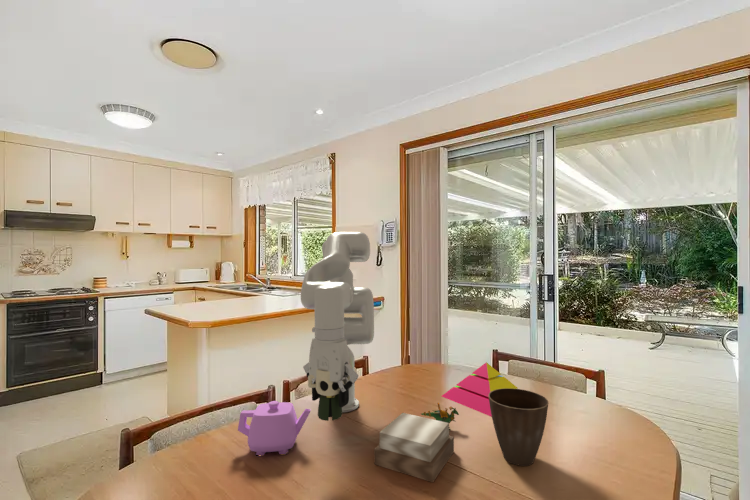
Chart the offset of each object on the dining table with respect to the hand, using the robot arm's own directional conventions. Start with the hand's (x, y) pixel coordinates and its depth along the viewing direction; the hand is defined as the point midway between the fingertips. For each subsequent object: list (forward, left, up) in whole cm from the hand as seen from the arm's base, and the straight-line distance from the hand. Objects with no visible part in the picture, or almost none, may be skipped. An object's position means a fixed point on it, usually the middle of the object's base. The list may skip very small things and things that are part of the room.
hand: (330, 401), depth 97 cm
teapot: (-20, +1, -17) cm, 26 cm away
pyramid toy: (+24, +66, -18) cm, 72 cm away
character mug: (0, 0, -4) cm, 4 cm away
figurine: (+17, +34, -17) cm, 41 cm away
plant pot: (+41, +28, -17) cm, 52 cm away
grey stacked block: (+17, +15, -17) cm, 28 cm away
